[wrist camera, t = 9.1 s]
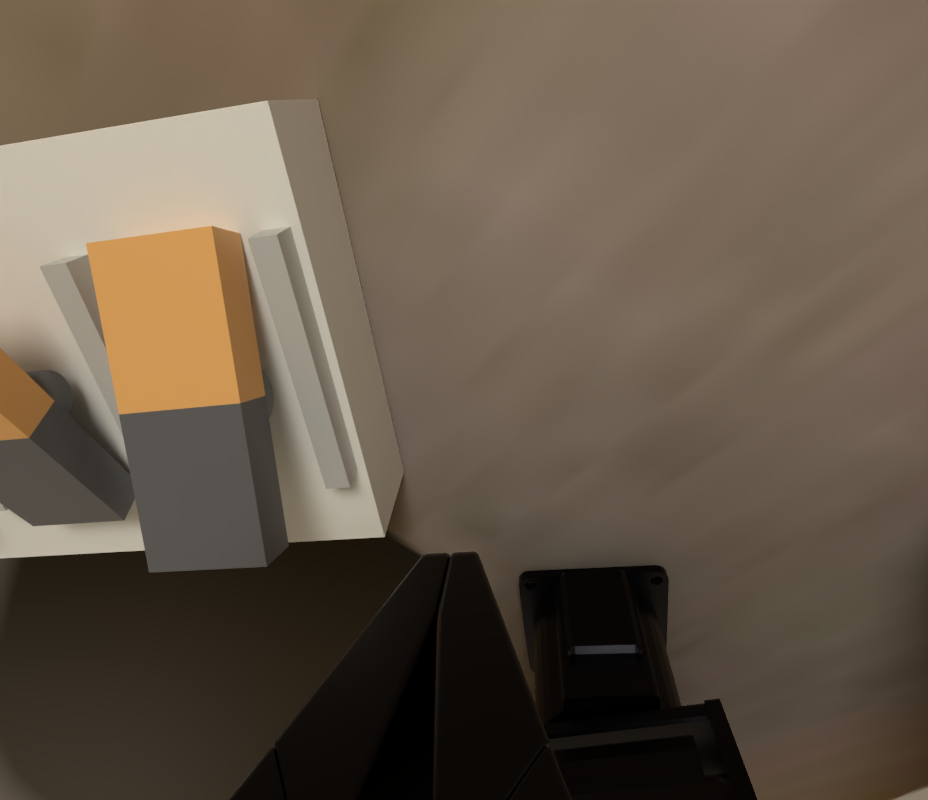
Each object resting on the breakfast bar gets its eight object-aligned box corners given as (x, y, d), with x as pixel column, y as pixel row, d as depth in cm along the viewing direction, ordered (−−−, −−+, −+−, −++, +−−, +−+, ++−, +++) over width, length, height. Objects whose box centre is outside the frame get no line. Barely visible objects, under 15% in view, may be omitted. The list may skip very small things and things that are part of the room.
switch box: (405, 477, 24) (380, 563, 20) (-8, 506, 27) (-111, 587, 22) (317, 99, 17) (250, 101, 13) (-219, 188, 20) (-422, 215, 16)
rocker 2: (302, 533, 18) (267, 566, 15) (198, 538, 18) (149, 572, 16) (257, 238, 17) (211, 225, 14) (147, 252, 17) (85, 243, 15)
